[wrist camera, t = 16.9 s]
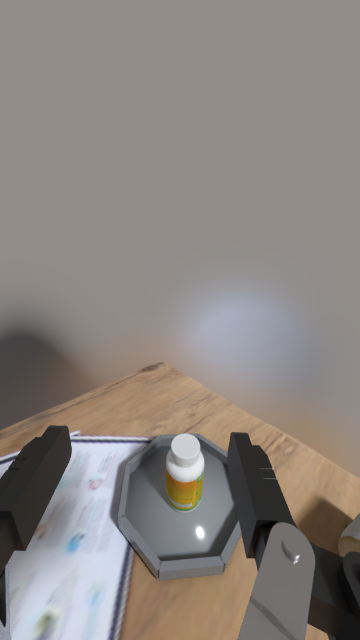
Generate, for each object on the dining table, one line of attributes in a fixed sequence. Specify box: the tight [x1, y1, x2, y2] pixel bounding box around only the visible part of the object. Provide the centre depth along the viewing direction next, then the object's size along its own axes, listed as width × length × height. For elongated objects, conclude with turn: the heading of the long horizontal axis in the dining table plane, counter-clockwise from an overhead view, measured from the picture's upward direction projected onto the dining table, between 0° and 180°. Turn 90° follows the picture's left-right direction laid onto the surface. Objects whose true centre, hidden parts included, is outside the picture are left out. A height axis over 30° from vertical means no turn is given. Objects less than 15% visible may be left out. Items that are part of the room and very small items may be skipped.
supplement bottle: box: [166, 434, 204, 513], centre depth 32 cm, size 5×5×10 cm
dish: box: [118, 433, 242, 581], centre depth 33 cm, size 18×18×2 cm
